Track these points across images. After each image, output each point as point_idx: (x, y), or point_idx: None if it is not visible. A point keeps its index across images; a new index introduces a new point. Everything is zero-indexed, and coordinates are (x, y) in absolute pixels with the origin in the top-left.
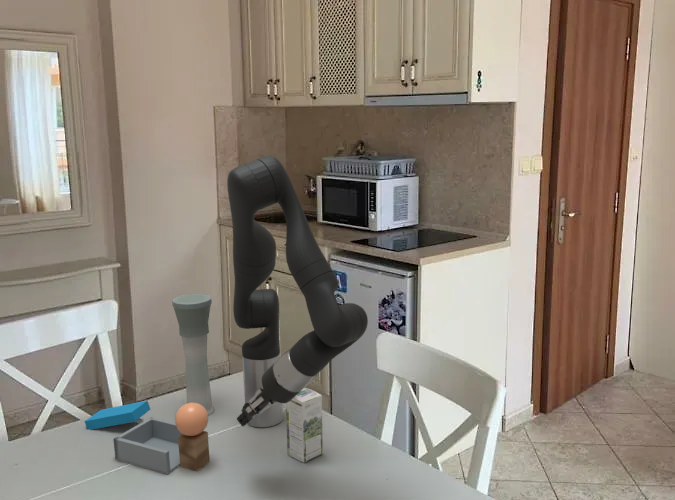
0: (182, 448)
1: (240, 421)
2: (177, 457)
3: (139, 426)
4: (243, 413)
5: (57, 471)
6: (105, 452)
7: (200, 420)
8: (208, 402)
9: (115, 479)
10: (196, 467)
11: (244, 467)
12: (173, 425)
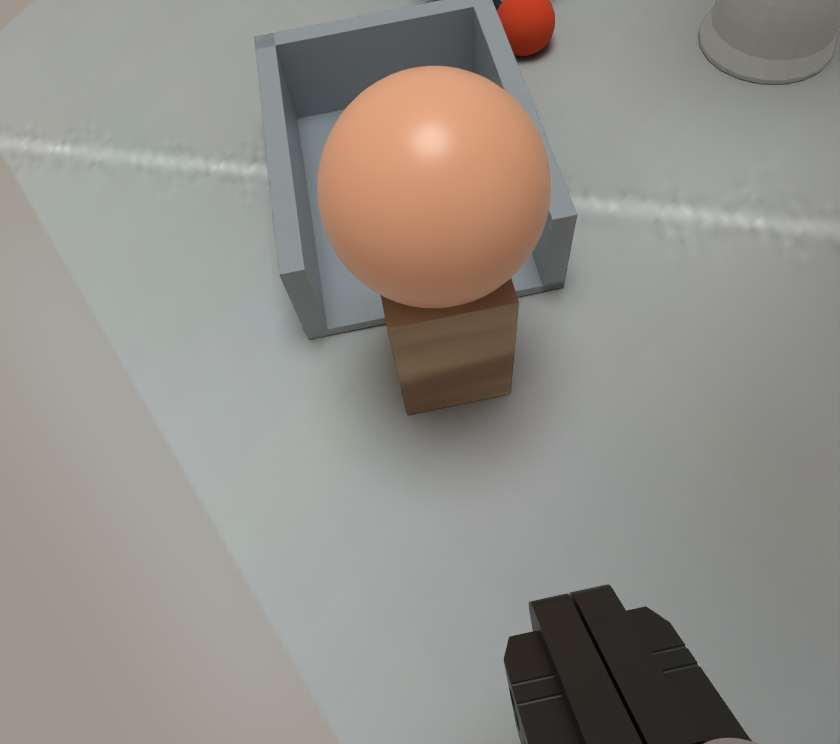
0: None
1: (511, 696)
2: None
3: (395, 21)
4: (570, 706)
5: (125, 61)
6: None
7: (419, 266)
8: (812, 22)
9: (174, 222)
10: (406, 406)
11: None
12: None
